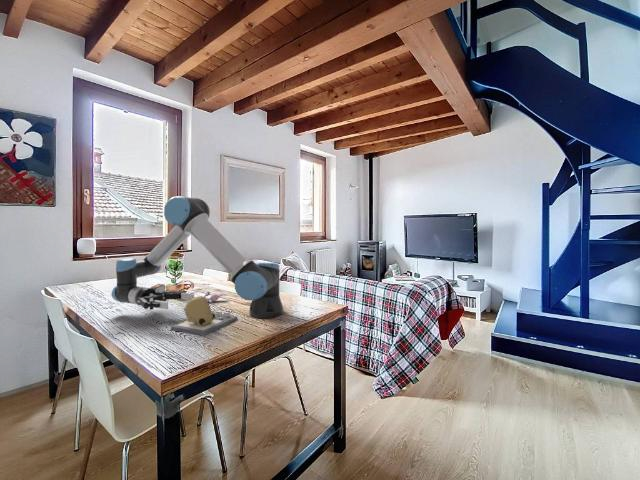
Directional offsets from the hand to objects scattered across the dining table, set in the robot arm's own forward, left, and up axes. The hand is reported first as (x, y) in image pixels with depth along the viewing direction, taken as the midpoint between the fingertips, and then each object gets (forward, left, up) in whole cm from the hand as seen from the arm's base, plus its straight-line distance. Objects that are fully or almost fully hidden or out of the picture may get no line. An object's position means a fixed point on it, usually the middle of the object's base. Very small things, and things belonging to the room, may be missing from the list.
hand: (181, 301), depth 126 cm
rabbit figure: (+11, -31, -9) cm, 34 cm away
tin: (+37, -21, -9) cm, 44 cm away
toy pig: (-10, 0, -8) cm, 12 cm away
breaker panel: (-10, -3, -9) cm, 14 cm away
